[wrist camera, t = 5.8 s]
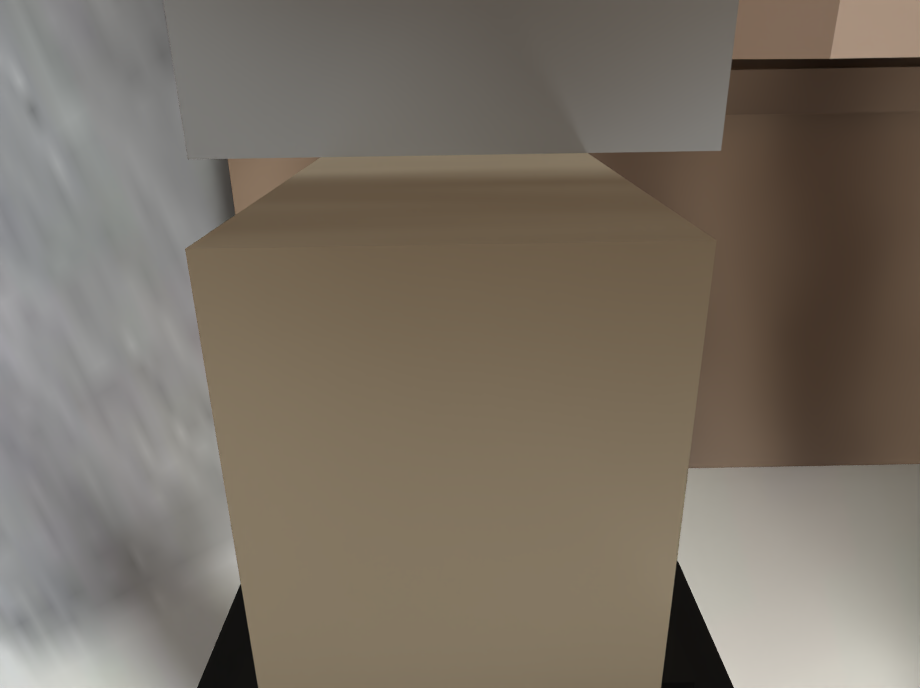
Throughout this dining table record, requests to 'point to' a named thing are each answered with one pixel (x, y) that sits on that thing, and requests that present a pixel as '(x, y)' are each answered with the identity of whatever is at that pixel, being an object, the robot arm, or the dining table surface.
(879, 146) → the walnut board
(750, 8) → the tile
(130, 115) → the dining table surface
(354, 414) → the tan bar
